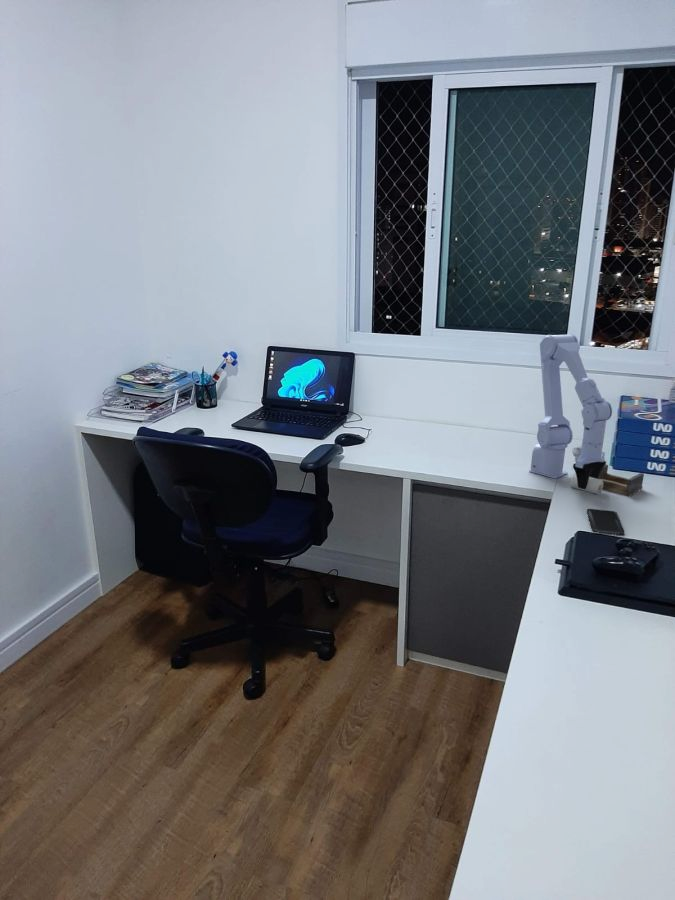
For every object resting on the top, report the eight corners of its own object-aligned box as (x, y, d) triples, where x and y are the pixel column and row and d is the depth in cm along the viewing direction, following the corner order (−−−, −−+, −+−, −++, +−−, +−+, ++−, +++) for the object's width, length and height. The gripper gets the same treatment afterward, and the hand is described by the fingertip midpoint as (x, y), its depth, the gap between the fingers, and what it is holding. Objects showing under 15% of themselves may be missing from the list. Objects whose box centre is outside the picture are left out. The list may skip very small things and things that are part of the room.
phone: (592, 529, 170) (586, 508, 184) (592, 533, 170) (585, 512, 184) (625, 533, 168) (616, 511, 182) (624, 537, 168) (616, 515, 182)
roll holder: (589, 485, 204) (591, 470, 202) (602, 479, 210) (604, 464, 208) (629, 496, 195) (632, 480, 194) (642, 489, 201) (644, 473, 200)
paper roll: (569, 488, 201) (571, 475, 200) (576, 485, 204) (578, 471, 203) (595, 496, 196) (597, 482, 194) (602, 492, 198) (604, 478, 197)
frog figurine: (572, 461, 226) (574, 442, 224) (593, 465, 223) (596, 445, 221) (568, 466, 221) (570, 446, 219) (590, 470, 218) (593, 449, 216)
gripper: (594, 449, 188) (588, 494, 192) (616, 440, 197) (610, 483, 201) (571, 444, 192) (565, 488, 196) (594, 435, 202) (588, 477, 206)
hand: (586, 485), depth 199 cm, fingers open, 6 cm apart
